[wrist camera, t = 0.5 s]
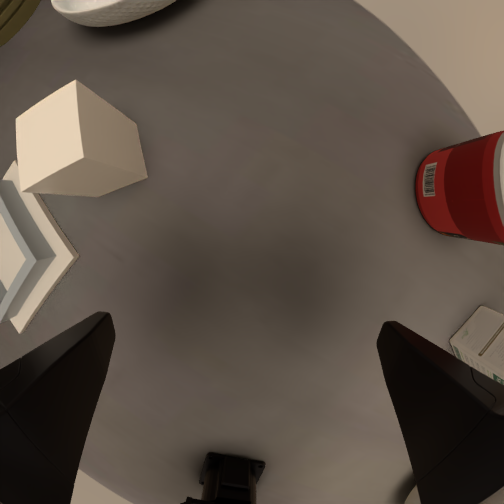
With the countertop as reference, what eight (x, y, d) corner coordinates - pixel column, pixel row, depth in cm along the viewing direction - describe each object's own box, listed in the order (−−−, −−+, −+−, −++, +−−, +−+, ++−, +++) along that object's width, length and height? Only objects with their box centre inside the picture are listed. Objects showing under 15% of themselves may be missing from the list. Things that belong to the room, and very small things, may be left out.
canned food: (434, 250, 23) (520, 272, 12) (397, 172, 22) (482, 152, 11) (480, 211, 22) (561, 215, 12) (449, 139, 22) (528, 113, 11)
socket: (79, 256, 23) (54, 263, 19) (24, 330, 24) (3, 343, 20) (20, 161, 22) (-5, 156, 18) (-26, 243, 23) (-48, 247, 19)
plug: (148, 177, 22) (83, 157, 12) (97, 197, 22) (21, 192, 12) (136, 124, 22) (75, 79, 12) (88, 145, 22) (15, 118, 12)
